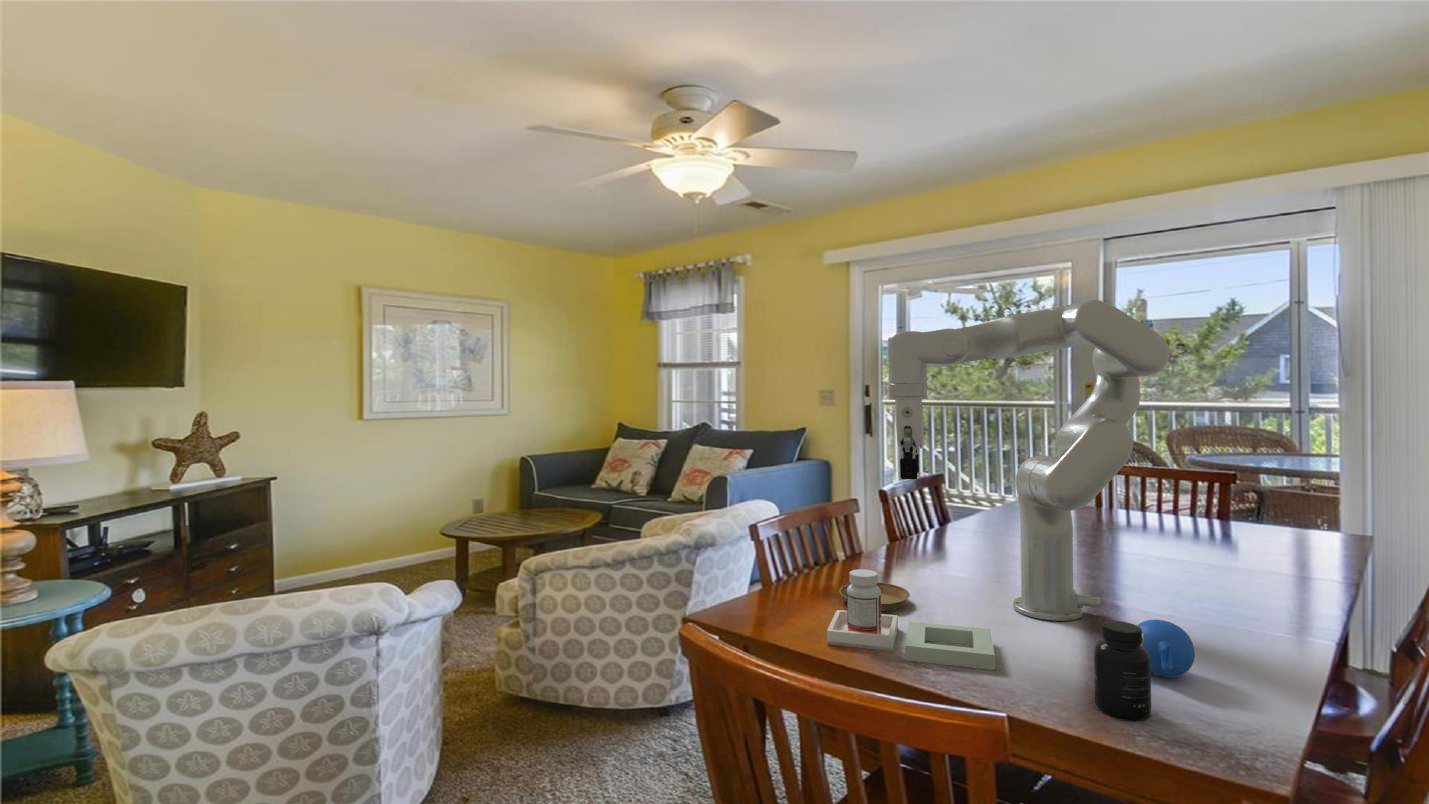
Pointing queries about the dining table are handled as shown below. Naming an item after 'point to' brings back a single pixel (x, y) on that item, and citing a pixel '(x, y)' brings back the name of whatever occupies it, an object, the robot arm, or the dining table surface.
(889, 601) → the plant saucer
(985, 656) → the socket holder
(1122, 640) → the supplement bottle
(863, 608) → the pill bottle
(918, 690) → the dining table surface
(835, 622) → the tray
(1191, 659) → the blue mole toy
